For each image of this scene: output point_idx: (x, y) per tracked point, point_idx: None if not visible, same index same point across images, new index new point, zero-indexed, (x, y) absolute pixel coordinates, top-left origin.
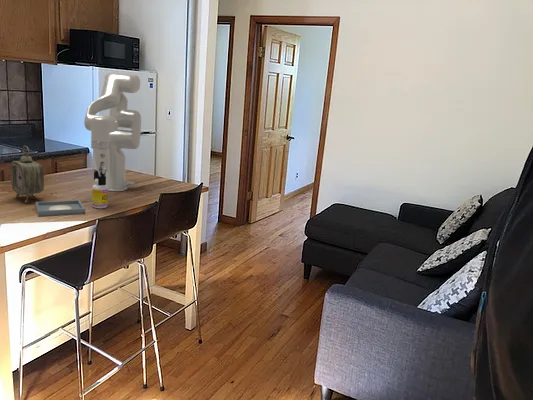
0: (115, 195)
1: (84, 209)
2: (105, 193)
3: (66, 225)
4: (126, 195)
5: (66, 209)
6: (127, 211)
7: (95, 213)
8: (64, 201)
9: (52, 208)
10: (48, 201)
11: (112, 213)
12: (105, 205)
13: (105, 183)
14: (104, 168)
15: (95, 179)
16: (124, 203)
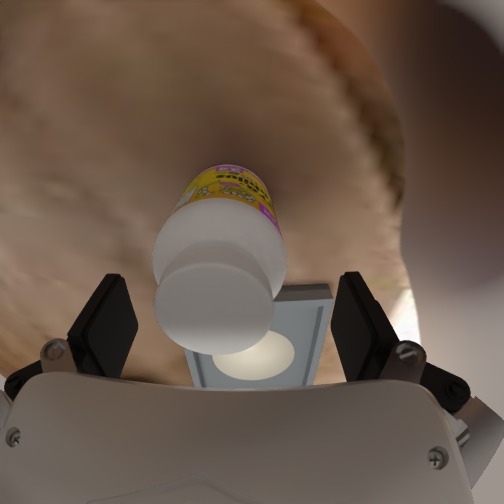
0: (28, 105)
1: (332, 298)
2: (271, 213)
3: (412, 334)
4: (35, 51)
5: (316, 353)
6: (351, 80)
7: (339, 243)
8: (192, 351)
9: (251, 373)
10: (195, 386)
11: (365, 167)
12: (263, 184)
13: (360, 282)
14: (498, 435)
15: (201, 350)
16: (178, 54)
